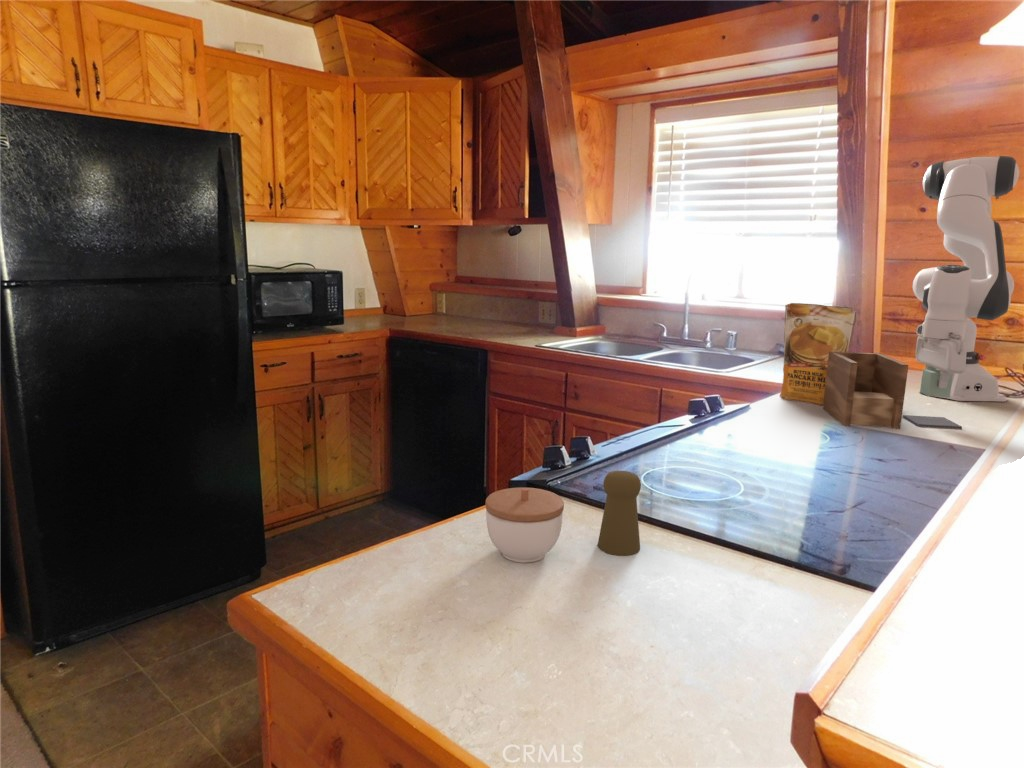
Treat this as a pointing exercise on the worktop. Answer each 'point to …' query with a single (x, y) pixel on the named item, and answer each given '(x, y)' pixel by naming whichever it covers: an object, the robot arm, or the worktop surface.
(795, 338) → the pancake mix bag
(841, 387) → the bin
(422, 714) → the worktop surface
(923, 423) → the mat
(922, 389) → the block
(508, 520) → the lidded jar
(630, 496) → the cork
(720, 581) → the worktop surface
